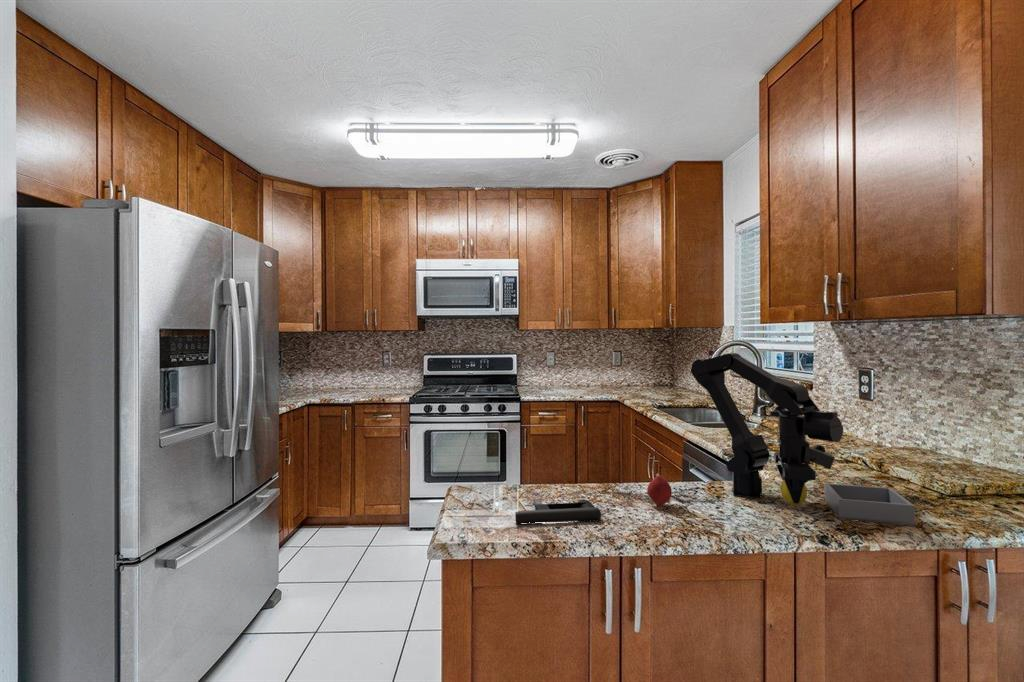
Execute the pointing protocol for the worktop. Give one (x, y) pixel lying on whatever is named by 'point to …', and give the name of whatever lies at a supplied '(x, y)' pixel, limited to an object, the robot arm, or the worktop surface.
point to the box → (869, 504)
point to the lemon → (788, 498)
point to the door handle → (559, 512)
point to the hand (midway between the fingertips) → (793, 499)
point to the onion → (659, 490)
